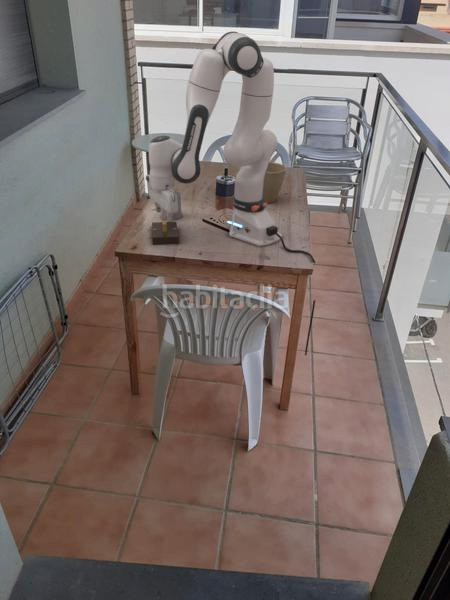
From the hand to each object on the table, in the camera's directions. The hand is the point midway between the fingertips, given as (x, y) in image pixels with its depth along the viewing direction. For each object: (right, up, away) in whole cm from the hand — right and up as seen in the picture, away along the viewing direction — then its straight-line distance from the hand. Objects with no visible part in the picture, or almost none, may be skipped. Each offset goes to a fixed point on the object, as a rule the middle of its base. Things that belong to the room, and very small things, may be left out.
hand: (163, 216), depth 183 cm
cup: (+1, +4, +21) cm, 22 cm away
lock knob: (0, -5, +3) cm, 6 cm away
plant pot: (+44, +14, +39) cm, 61 cm away
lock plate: (0, -7, +5) cm, 9 cm away
